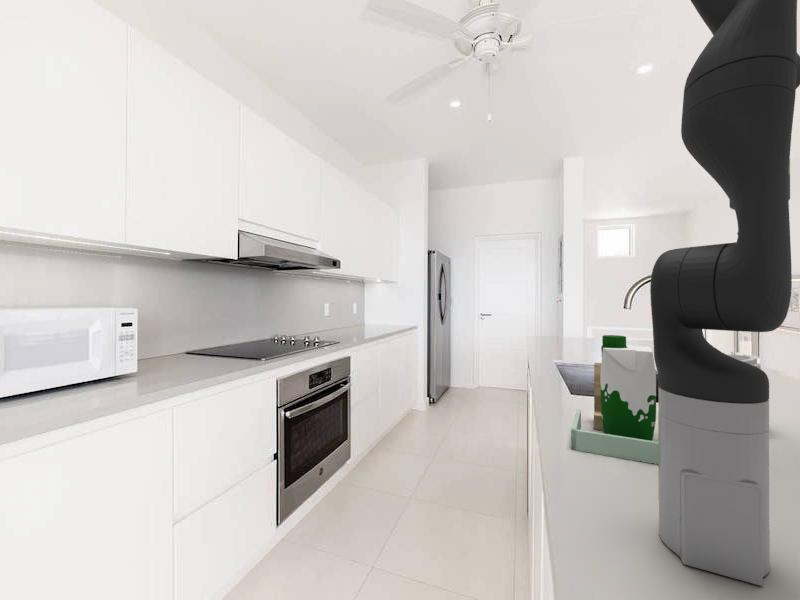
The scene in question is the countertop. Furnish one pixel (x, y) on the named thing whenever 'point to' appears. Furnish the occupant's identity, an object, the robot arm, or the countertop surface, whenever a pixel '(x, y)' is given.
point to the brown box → (597, 398)
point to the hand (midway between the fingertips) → (758, 278)
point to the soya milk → (627, 389)
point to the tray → (612, 444)
